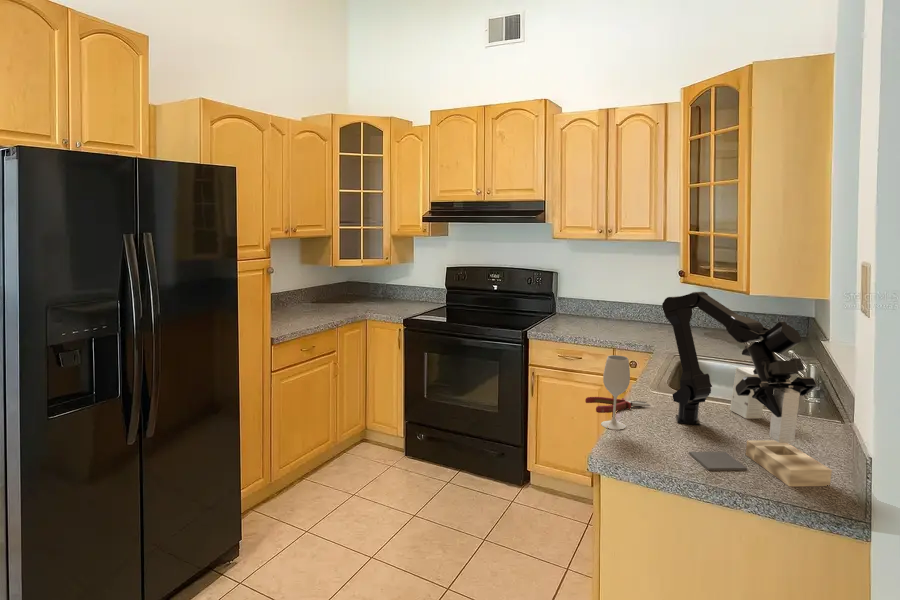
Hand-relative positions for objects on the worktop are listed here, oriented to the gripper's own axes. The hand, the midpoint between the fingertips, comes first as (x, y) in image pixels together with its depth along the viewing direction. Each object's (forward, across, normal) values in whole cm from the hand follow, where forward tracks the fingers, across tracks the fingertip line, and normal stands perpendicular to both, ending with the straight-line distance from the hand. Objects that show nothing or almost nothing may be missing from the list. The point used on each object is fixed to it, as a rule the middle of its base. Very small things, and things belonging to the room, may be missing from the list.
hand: (787, 416), depth 143 cm
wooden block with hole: (+10, 0, +9) cm, 13 cm away
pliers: (-22, -26, +42) cm, 54 cm away
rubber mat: (+7, -15, +12) cm, 21 cm away
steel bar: (+4, 0, +6) cm, 7 cm away
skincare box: (-18, +14, +37) cm, 44 cm away
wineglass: (-11, -33, +31) cm, 47 cm away
